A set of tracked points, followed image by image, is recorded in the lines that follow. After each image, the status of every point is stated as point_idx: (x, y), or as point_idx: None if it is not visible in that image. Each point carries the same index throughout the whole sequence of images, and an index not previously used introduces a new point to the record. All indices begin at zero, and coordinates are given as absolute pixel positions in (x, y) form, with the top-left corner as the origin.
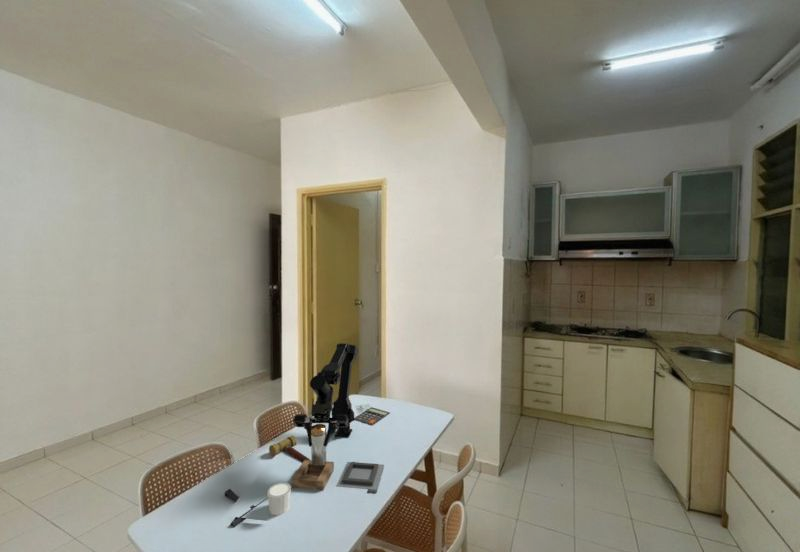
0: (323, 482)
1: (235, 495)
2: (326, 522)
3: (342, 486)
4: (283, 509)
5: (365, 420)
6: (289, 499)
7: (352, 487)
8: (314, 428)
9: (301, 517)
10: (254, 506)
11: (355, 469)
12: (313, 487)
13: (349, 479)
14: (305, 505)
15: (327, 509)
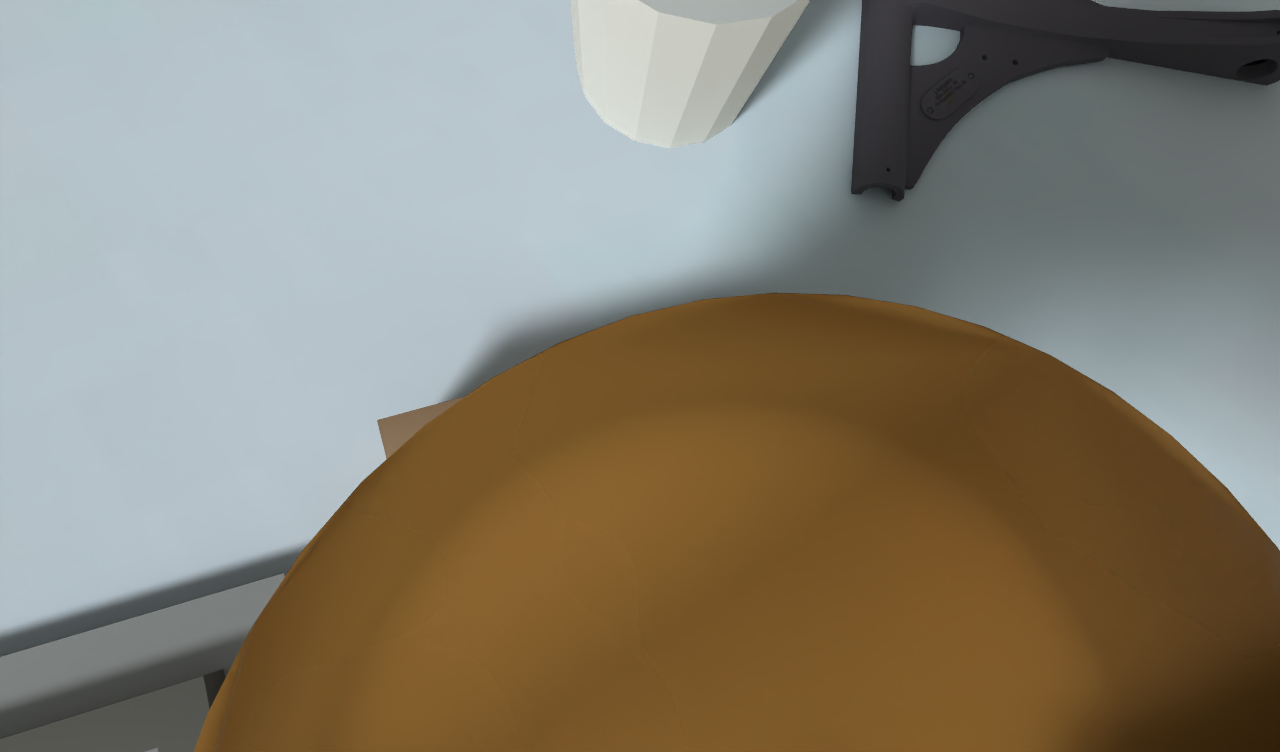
0: (382, 431)
1: (1178, 35)
2: (127, 99)
3: (193, 608)
4: None
5: None
6: (577, 9)
7: (40, 650)
8: (1002, 598)
9: (414, 72)
10: None
11: None
12: None
13: (102, 731)
14: (481, 214)
15: (214, 248)
